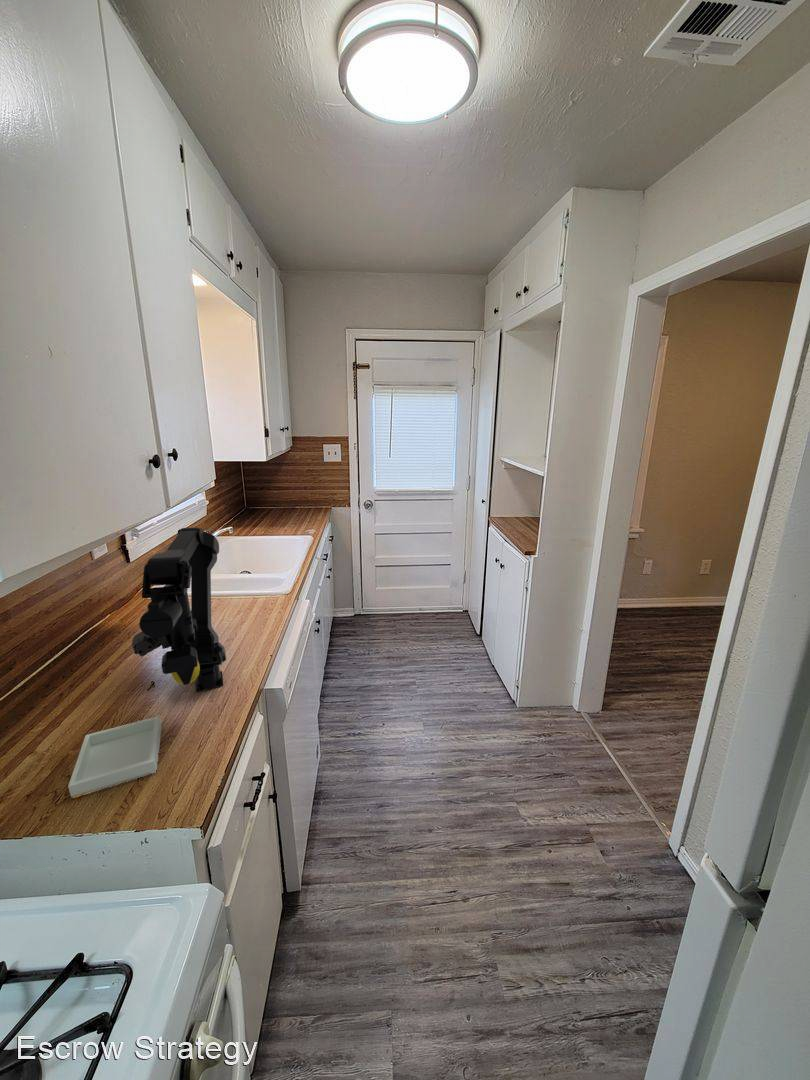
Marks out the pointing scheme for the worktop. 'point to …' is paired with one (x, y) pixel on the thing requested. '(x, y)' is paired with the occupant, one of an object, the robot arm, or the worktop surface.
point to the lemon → (194, 675)
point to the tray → (117, 756)
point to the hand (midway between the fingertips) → (187, 676)
